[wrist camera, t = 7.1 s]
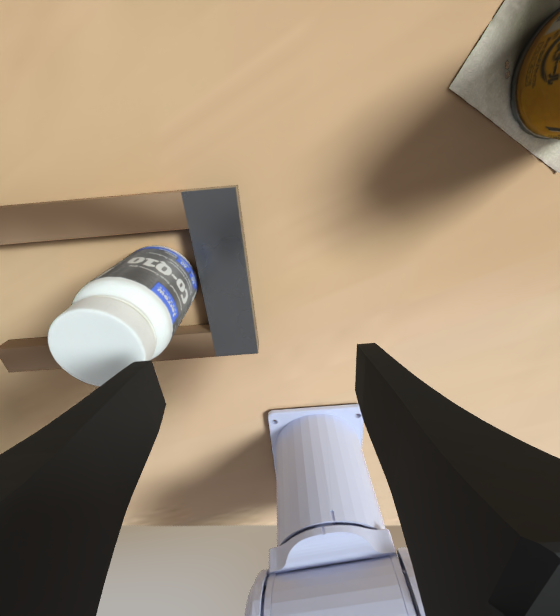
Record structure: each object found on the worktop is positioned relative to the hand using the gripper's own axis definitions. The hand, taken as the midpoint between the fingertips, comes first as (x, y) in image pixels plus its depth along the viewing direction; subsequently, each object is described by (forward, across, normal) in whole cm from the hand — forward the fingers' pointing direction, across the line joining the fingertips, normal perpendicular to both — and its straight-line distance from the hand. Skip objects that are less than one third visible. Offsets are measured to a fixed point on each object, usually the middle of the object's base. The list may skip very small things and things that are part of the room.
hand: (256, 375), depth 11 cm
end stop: (+10, +2, 0) cm, 11 cm away
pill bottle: (+11, +7, 0) cm, 13 cm away
